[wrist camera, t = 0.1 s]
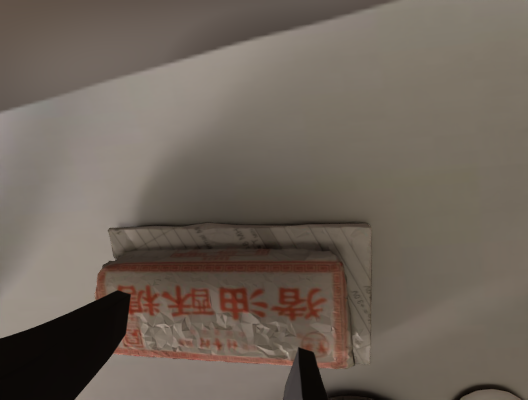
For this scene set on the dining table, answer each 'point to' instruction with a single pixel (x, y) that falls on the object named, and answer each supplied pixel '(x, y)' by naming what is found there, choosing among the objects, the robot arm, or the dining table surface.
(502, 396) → the white jar
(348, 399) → the bowl
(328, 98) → the dining table surface
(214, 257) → the packaged product
